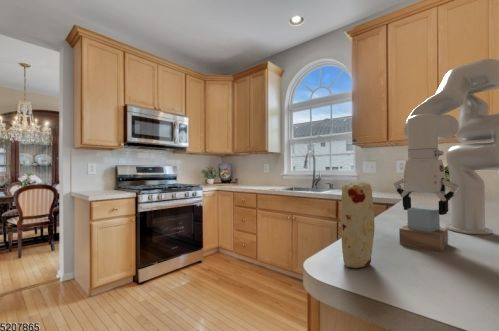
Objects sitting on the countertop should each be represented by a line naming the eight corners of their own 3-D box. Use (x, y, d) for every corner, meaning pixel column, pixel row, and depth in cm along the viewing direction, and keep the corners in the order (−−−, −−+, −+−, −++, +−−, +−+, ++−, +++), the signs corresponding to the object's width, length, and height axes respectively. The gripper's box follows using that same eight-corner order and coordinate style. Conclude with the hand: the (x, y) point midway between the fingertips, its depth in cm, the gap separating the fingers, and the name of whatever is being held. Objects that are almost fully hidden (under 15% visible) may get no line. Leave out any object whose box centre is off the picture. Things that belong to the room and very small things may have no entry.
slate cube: (417, 225, 79) (417, 206, 79) (439, 229, 74) (439, 209, 74) (407, 228, 76) (407, 208, 76) (430, 232, 70) (429, 211, 70)
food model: (360, 275, 54) (359, 183, 54) (333, 265, 59) (332, 181, 59) (381, 264, 60) (380, 181, 60) (354, 256, 65) (353, 180, 65)
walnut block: (409, 238, 82) (409, 223, 82) (447, 245, 74) (447, 228, 74) (399, 245, 75) (399, 228, 75) (440, 253, 68) (440, 235, 68)
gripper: (463, 154, 69) (465, 214, 69) (400, 156, 84) (401, 206, 84) (451, 154, 66) (453, 218, 66) (387, 156, 81) (388, 209, 81)
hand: (424, 211), depth 75 cm, fingers open, 9 cm apart
